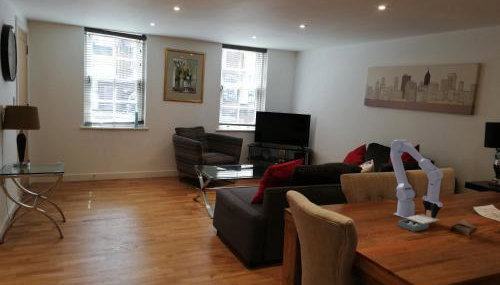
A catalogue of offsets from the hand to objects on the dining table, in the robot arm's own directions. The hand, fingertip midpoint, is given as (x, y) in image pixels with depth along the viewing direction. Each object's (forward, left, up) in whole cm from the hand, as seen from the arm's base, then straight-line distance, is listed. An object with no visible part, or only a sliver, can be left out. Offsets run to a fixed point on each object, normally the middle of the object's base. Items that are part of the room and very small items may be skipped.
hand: (430, 216), depth 195 cm
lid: (+7, 0, -2) cm, 7 cm away
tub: (+15, 0, -4) cm, 15 cm away
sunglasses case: (-9, +14, -5) cm, 17 cm away
